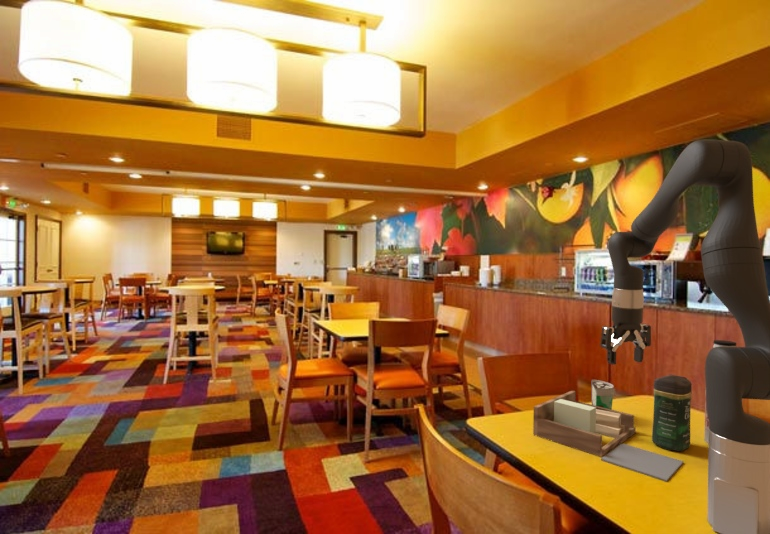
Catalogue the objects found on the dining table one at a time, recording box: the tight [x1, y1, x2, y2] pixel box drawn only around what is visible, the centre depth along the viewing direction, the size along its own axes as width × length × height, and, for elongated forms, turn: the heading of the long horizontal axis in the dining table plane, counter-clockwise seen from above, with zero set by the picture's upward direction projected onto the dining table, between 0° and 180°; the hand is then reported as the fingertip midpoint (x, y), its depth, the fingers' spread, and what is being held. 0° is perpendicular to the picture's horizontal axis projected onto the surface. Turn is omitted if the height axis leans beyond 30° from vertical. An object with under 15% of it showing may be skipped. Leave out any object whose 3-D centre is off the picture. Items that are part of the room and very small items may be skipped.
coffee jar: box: [651, 374, 693, 452], centre depth 116 cm, size 10×8×19 cm
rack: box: [532, 390, 637, 458], centre depth 123 cm, size 24×19×8 cm
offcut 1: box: [596, 409, 621, 428], centre depth 124 cm, size 4×7×3 cm, turn 54°
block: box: [554, 399, 597, 434], centre depth 121 cm, size 4×10×9 cm, turn 42°
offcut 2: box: [596, 424, 625, 439], centre depth 124 cm, size 5×8×3 cm, turn 44°
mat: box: [600, 442, 684, 483], centre depth 106 cm, size 14×14×1 cm
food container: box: [591, 379, 616, 410], centre depth 138 cm, size 12×6×10 cm, turn 161°
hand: (625, 362), depth 119 cm, fingers open, 8 cm apart
